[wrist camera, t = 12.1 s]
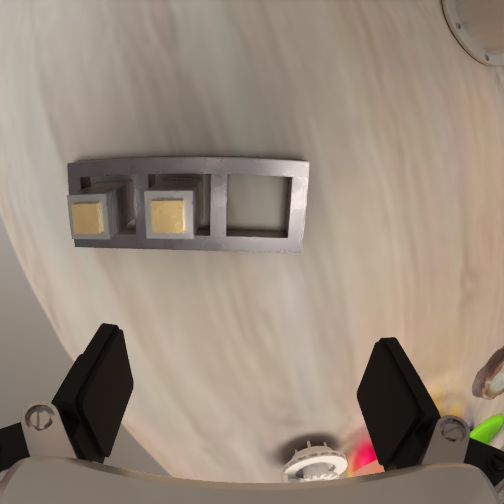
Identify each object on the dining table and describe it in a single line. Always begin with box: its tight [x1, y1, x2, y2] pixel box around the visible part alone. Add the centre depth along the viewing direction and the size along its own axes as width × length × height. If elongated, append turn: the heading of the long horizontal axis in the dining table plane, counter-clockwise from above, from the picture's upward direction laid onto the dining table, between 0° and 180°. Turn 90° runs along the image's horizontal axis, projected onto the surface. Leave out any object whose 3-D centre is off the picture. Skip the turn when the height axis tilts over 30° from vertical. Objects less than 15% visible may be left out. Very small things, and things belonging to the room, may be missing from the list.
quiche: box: [472, 347, 504, 400], centre depth 44 cm, size 21×20×4 cm
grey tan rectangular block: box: [67, 181, 134, 239], centre depth 28 cm, size 4×4×8 cm
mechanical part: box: [281, 441, 347, 483], centre depth 42 cm, size 11×12×12 cm
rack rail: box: [68, 156, 310, 253], centre depth 30 cm, size 24×9×2 cm, turn 88°
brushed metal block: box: [144, 179, 203, 239], centre depth 28 cm, size 4×4×8 cm
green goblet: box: [470, 414, 504, 446], centre depth 46 cm, size 16×16×18 cm
